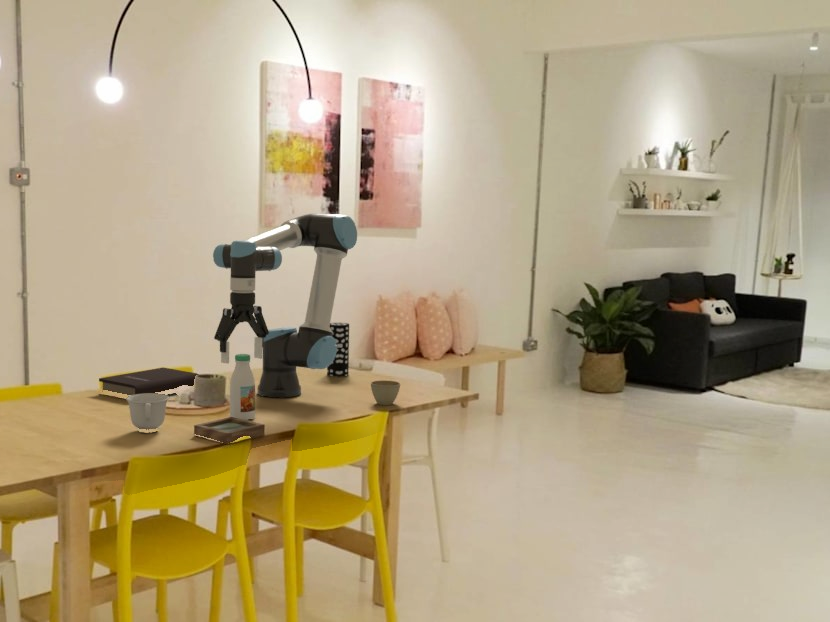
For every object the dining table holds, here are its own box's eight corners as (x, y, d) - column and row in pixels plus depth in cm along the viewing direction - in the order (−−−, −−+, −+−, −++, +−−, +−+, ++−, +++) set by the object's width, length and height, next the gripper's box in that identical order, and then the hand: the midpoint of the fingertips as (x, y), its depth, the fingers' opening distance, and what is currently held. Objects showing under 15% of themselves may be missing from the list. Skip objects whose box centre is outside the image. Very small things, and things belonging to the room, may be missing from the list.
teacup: (125, 439, 261) (125, 404, 260) (126, 427, 275) (126, 393, 274) (170, 437, 264) (170, 403, 263) (168, 425, 278) (168, 392, 277)
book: (137, 403, 308) (137, 385, 307) (99, 395, 319) (99, 378, 318) (200, 390, 331) (200, 374, 331) (163, 383, 342) (163, 367, 341)
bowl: (396, 407, 310) (396, 386, 309) (367, 405, 312) (367, 384, 311) (402, 401, 320) (403, 381, 319) (374, 399, 321) (374, 379, 321)
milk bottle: (230, 421, 285) (230, 357, 282) (228, 416, 292) (228, 353, 290) (256, 421, 287) (256, 356, 284) (253, 415, 294) (254, 352, 292)
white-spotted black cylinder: (352, 374, 366) (353, 323, 364) (339, 377, 359) (340, 326, 357) (335, 372, 371) (336, 322, 368) (322, 375, 364) (323, 324, 361)
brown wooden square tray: (194, 436, 267) (194, 425, 266) (231, 427, 278) (231, 416, 277) (227, 444, 258) (227, 433, 258) (264, 435, 270) (264, 424, 269)
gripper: (219, 294, 273) (219, 366, 275) (280, 290, 292) (279, 357, 295) (202, 292, 277) (202, 363, 279) (263, 288, 297) (262, 354, 299)
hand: (241, 360), depth 287 cm, fingers open, 13 cm apart
